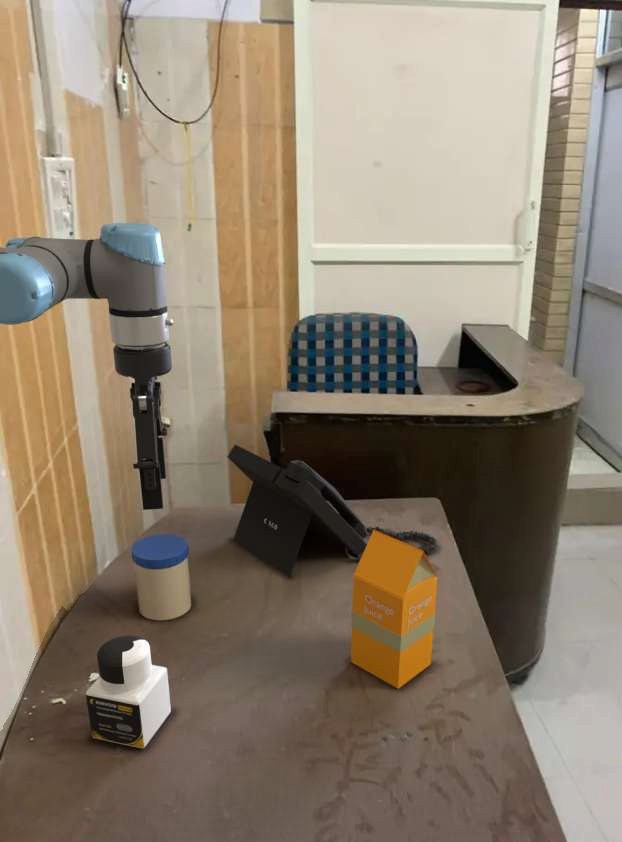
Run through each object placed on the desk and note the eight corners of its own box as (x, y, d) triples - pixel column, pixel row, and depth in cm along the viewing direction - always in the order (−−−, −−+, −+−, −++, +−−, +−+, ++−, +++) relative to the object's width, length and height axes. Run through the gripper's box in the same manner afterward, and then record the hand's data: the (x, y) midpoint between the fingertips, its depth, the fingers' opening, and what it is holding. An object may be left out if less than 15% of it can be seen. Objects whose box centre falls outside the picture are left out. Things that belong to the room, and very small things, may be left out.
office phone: (445, 549, 141) (453, 447, 132) (325, 601, 123) (326, 488, 115) (343, 497, 160) (344, 405, 152) (227, 536, 142) (222, 434, 134)
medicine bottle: (90, 739, 93) (78, 658, 88) (122, 701, 99) (112, 624, 95) (143, 750, 92) (134, 669, 87) (172, 711, 98) (164, 634, 93)
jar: (137, 622, 116) (130, 564, 112) (140, 594, 123) (134, 539, 119) (191, 618, 117) (186, 560, 113) (191, 590, 125) (187, 535, 120)
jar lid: (130, 571, 112) (129, 562, 111) (134, 544, 119) (133, 535, 119) (188, 566, 114) (188, 557, 113) (189, 540, 121) (188, 532, 120)
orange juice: (397, 689, 104) (405, 561, 95) (349, 662, 109) (353, 538, 101) (432, 663, 109) (441, 540, 101) (384, 638, 114) (390, 519, 106)
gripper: (167, 364, 94) (179, 525, 103) (172, 325, 114) (182, 462, 123) (103, 366, 92) (121, 528, 101) (120, 326, 113) (134, 464, 122)
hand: (155, 492), depth 112 cm, fingers open, 10 cm apart
